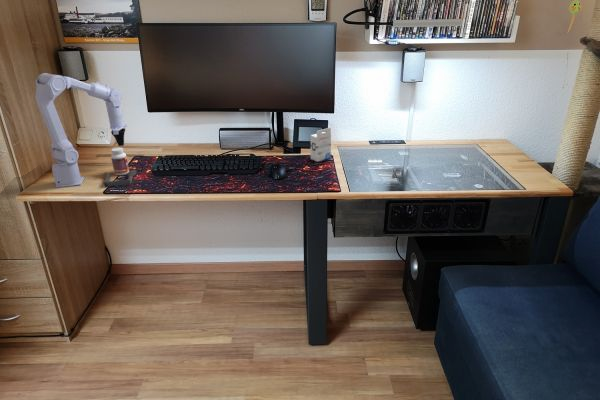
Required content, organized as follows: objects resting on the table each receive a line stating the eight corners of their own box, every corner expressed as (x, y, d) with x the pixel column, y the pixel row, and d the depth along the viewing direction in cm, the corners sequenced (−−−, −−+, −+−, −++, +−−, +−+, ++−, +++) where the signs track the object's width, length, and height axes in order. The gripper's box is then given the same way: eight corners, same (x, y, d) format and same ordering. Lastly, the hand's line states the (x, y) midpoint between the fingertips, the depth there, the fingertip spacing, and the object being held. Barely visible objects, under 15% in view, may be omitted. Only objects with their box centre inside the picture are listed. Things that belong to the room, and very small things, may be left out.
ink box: (324, 155, 210) (324, 125, 203) (331, 157, 206) (331, 127, 200) (310, 159, 205) (310, 128, 199) (316, 161, 202) (316, 130, 195)
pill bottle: (131, 173, 192) (126, 149, 187) (116, 176, 189) (111, 152, 184) (127, 169, 197) (122, 145, 192) (113, 172, 194) (108, 148, 189)
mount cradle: (101, 187, 179) (99, 182, 178) (105, 176, 189) (104, 171, 188) (134, 184, 181) (133, 178, 180) (136, 173, 192) (135, 168, 191)
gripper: (122, 119, 187) (128, 149, 193) (126, 111, 200) (132, 139, 206) (105, 120, 186) (111, 151, 192) (110, 112, 198) (116, 141, 204)
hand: (121, 145), depth 199 cm, fingers closed
